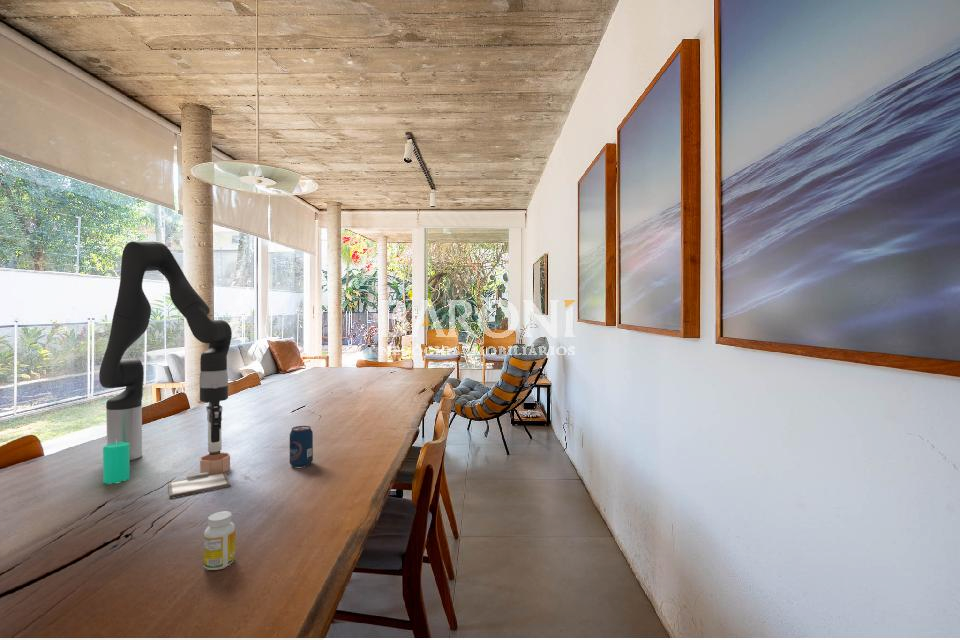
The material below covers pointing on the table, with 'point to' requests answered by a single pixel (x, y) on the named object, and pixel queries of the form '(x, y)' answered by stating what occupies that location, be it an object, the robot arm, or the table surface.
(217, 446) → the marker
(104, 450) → the candle
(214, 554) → the supplement bottle
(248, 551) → the table surface
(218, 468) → the pen cup
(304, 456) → the soda can
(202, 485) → the clipboard
